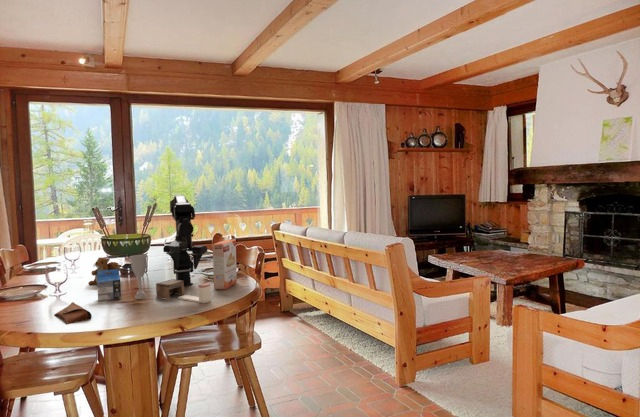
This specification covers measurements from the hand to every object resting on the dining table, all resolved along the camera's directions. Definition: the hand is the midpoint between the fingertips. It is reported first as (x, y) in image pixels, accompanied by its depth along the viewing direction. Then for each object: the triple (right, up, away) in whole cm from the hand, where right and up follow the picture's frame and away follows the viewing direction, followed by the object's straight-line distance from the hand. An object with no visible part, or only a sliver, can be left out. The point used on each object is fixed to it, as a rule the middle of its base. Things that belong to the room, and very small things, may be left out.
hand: (186, 268), depth 194 cm
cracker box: (+14, -11, +17) cm, 24 cm away
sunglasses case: (-35, -15, -25) cm, 46 cm away
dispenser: (-7, -12, +2) cm, 14 cm away
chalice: (-20, -13, 0) cm, 23 cm away
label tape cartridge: (-32, -13, -1) cm, 35 cm away
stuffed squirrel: (-49, -12, +31) cm, 59 cm away
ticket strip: (+5, -12, -6) cm, 15 cm away
